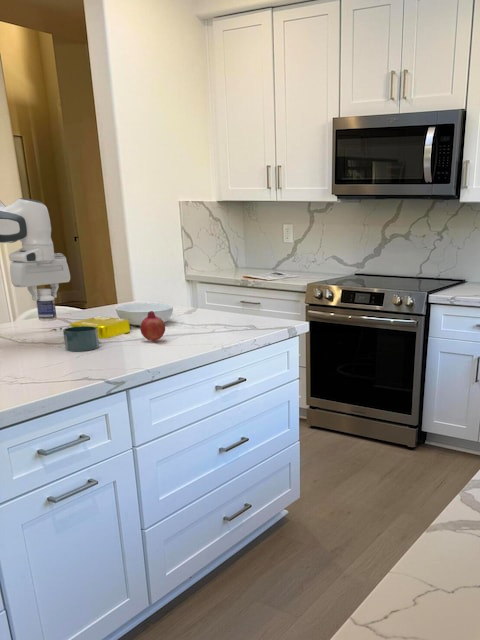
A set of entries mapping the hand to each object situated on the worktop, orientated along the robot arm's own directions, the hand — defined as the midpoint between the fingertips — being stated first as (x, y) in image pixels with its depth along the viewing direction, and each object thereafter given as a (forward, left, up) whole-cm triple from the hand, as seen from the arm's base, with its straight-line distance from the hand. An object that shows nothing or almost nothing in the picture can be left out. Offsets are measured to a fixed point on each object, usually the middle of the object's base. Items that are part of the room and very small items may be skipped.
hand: (44, 299), depth 194 cm
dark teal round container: (+4, -13, -14) cm, 20 cm away
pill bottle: (0, 0, -7) cm, 7 cm away
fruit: (+26, -19, -15) cm, 36 cm away
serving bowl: (+40, +10, -15) cm, 44 cm away
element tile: (+19, +4, -14) cm, 24 cm away
